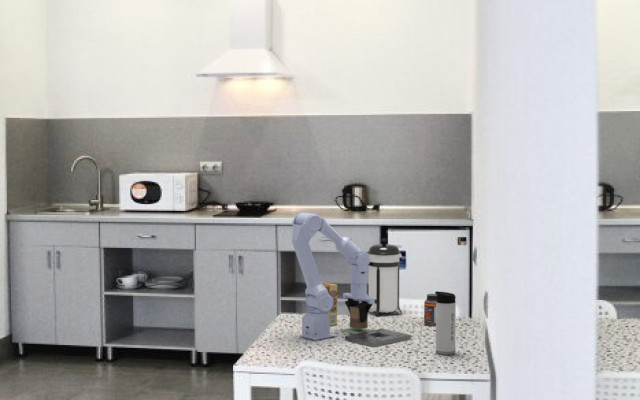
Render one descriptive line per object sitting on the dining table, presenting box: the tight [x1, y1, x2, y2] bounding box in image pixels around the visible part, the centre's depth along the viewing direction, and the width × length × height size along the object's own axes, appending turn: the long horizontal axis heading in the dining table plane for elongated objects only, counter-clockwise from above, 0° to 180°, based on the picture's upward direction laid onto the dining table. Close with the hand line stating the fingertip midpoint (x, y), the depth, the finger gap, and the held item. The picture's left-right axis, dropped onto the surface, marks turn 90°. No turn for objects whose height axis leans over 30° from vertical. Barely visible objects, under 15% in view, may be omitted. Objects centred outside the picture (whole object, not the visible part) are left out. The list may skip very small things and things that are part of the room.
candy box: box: [321, 281, 338, 327], centre depth 339 cm, size 9×4×15 cm, turn 39°
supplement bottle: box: [423, 293, 437, 327], centre depth 338 cm, size 6×6×11 cm
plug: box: [349, 306, 369, 329], centre depth 326 cm, size 4×4×8 cm
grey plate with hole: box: [344, 328, 412, 348], centre depth 313 cm, size 18×14×2 cm
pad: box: [340, 327, 373, 335], centre depth 326 cm, size 9×9×1 cm
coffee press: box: [359, 237, 403, 317], centre depth 357 cm, size 17×16×30 cm
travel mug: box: [434, 291, 457, 356], centre depth 293 cm, size 6×7×20 cm
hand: (358, 321), depth 326 cm, fingers closed on plug, 4 cm apart
